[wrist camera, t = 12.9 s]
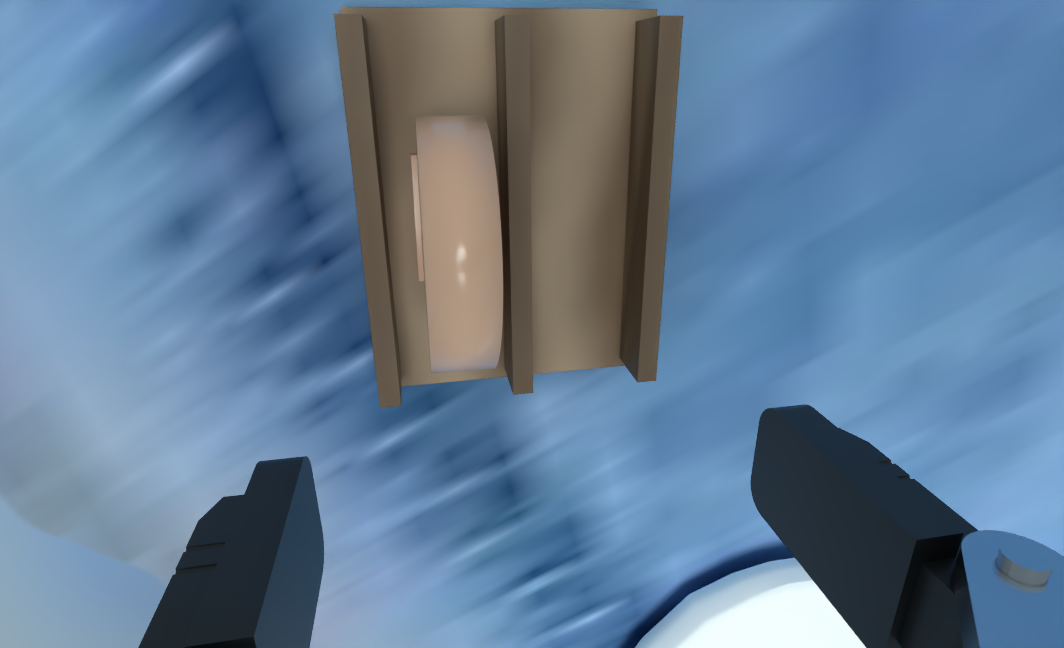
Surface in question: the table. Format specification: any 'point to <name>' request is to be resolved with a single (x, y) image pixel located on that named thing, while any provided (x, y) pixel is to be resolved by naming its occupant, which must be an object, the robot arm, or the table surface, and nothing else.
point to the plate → (755, 613)
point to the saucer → (458, 241)
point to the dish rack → (521, 176)
